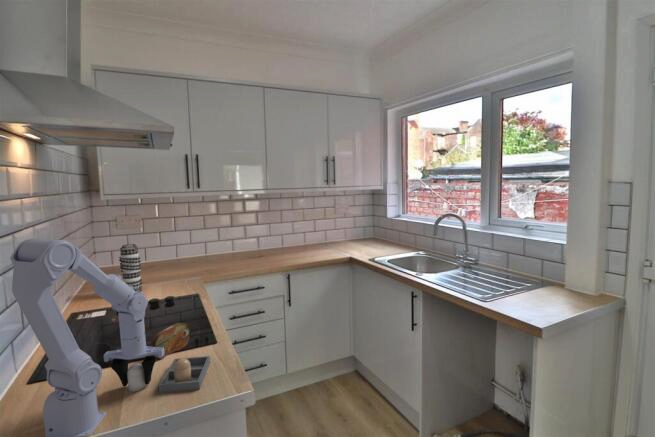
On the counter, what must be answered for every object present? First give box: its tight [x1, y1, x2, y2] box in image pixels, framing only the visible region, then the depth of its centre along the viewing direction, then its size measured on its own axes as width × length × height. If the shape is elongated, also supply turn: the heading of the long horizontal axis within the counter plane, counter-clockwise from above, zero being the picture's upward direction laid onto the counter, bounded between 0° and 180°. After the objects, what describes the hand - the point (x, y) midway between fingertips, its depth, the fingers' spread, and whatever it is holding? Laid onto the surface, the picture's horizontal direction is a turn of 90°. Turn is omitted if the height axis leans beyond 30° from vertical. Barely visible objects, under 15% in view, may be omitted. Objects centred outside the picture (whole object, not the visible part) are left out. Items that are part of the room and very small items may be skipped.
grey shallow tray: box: [158, 355, 211, 394], centre depth 100 cm, size 10×14×3 cm
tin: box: [149, 322, 192, 360], centre depth 115 cm, size 15×3×8 cm, turn 158°
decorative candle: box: [118, 243, 143, 293], centre depth 175 cm, size 9×9×25 cm
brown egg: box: [174, 357, 192, 383], centre depth 96 cm, size 4×4×7 cm
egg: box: [127, 362, 147, 392], centre depth 95 cm, size 4×4×7 cm
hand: (137, 383), depth 95 cm, fingers open, 5 cm apart
